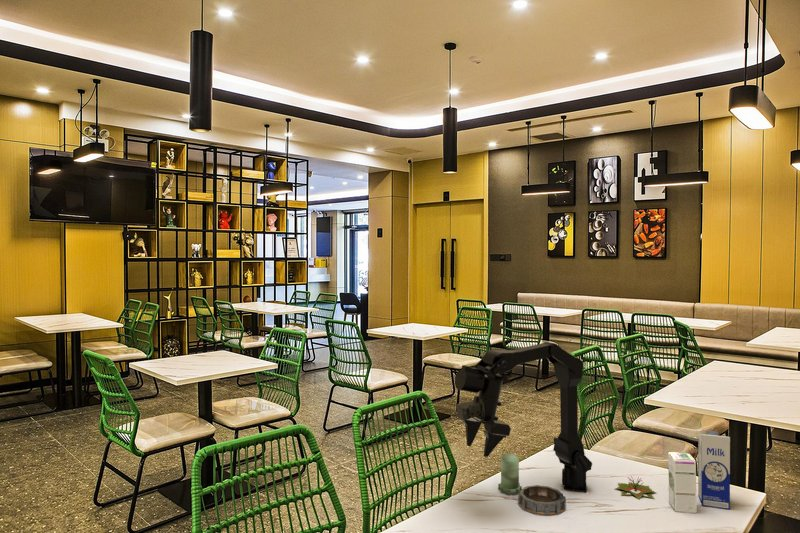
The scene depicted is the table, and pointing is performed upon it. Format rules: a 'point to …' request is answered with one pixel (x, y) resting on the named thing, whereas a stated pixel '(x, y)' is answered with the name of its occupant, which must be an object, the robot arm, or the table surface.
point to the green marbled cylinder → (509, 475)
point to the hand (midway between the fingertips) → (476, 451)
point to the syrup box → (682, 482)
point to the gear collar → (542, 500)
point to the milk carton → (714, 470)
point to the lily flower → (635, 489)
